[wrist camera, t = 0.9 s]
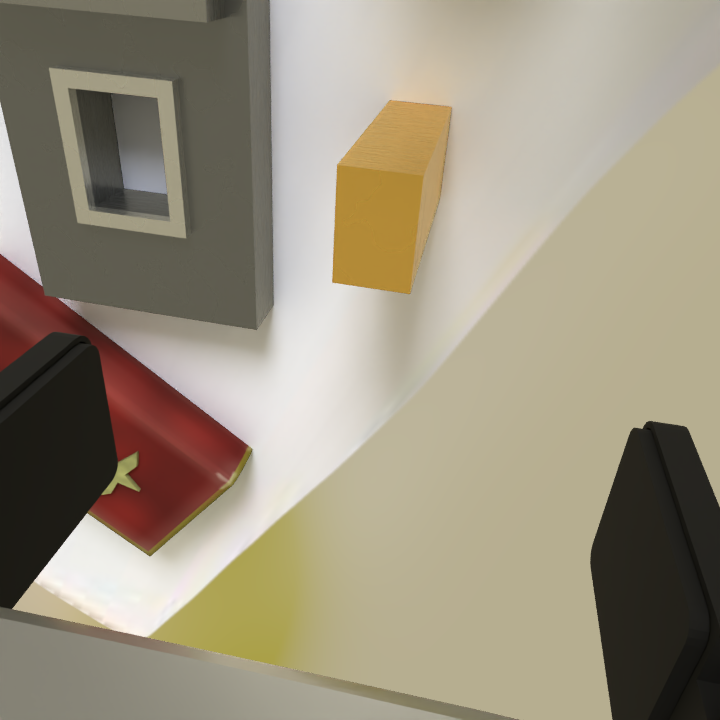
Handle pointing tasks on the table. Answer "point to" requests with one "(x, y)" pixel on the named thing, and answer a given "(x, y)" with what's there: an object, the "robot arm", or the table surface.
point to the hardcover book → (132, 424)
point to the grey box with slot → (179, 142)
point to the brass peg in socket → (389, 196)
